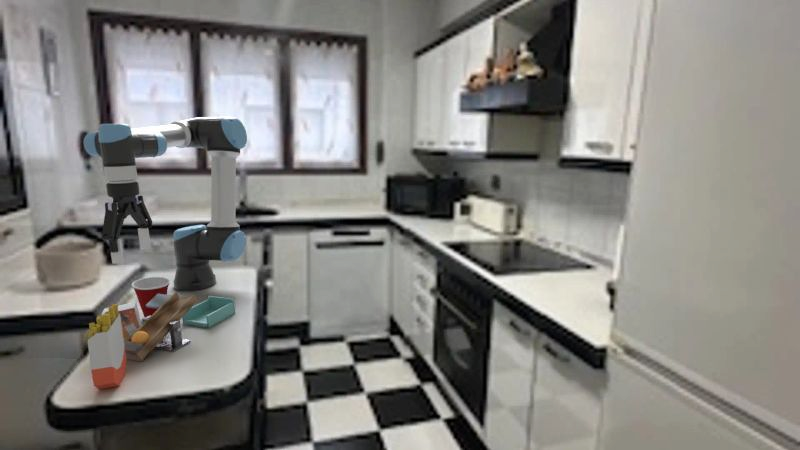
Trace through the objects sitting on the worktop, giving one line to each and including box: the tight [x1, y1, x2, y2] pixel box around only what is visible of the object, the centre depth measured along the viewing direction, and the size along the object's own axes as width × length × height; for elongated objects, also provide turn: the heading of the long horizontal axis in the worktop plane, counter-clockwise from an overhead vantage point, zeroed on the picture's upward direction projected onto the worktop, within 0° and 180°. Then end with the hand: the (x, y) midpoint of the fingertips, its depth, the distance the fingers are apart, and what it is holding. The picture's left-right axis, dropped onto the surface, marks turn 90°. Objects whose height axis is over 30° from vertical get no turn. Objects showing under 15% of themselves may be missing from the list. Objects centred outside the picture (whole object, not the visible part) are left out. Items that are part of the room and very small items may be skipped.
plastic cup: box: [131, 276, 171, 318], centre depth 140 cm, size 11×11×12 cm
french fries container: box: [87, 303, 128, 390], centre depth 102 cm, size 5×11×18 cm, turn 20°
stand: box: [141, 316, 191, 353], centre depth 122 cm, size 6×13×7 cm, turn 72°
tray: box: [181, 295, 236, 329], centre depth 139 cm, size 12×10×5 cm
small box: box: [100, 301, 142, 341], centre depth 122 cm, size 8×6×10 cm
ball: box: [131, 331, 149, 346], centre depth 115 cm, size 4×4×4 cm
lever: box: [124, 291, 198, 362], centre depth 122 cm, size 22×15×4 cm
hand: (132, 256), depth 124 cm, fingers open, 13 cm apart
